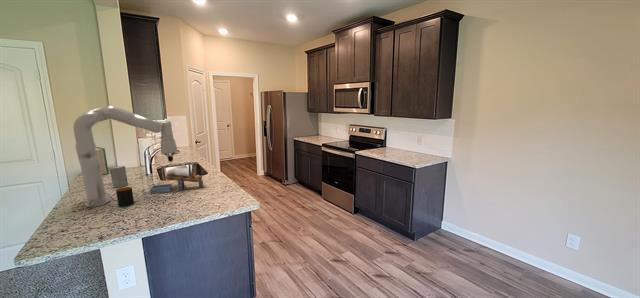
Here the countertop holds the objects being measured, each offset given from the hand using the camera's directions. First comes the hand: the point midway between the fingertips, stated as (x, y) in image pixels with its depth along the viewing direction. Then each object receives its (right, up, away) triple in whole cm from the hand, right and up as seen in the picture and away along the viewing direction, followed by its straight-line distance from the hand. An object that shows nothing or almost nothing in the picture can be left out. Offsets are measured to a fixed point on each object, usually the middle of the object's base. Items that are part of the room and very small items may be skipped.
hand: (170, 161), depth 205 cm
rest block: (+23, -20, +1) cm, 30 cm away
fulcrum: (+10, -21, -2) cm, 23 cm away
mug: (-11, -27, -32) cm, 43 cm away
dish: (-3, -22, -6) cm, 23 cm away
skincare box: (-43, -20, +7) cm, 48 cm away
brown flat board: (+10, -13, +1) cm, 16 cm away
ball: (+21, -12, -1) cm, 24 cm away
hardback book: (-90, -14, +45) cm, 101 cm away
